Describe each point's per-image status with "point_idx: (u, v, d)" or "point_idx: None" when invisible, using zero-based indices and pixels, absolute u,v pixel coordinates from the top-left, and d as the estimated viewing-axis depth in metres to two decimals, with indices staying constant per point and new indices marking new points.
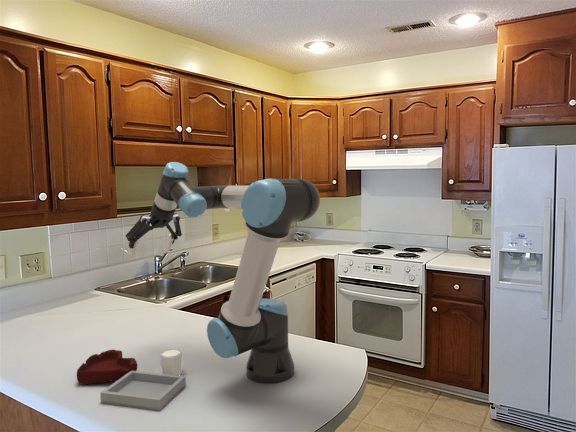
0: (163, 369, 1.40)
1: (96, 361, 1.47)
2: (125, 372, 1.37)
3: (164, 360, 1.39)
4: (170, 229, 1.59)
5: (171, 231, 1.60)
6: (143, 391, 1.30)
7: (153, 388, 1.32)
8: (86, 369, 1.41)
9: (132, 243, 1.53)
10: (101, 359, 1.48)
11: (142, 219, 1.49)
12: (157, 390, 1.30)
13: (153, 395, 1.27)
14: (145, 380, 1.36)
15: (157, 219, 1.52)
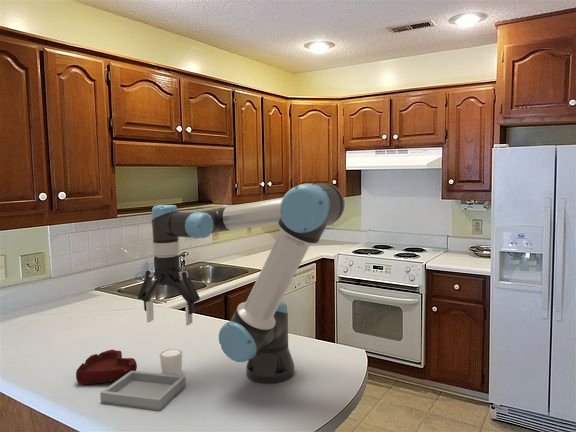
0: (163, 369, 1.40)
1: (95, 362, 1.46)
2: (124, 372, 1.37)
3: (164, 360, 1.39)
4: (179, 289, 1.37)
5: (181, 292, 1.37)
6: (143, 391, 1.30)
7: (153, 388, 1.32)
8: (85, 369, 1.41)
9: (145, 303, 1.42)
10: (100, 359, 1.48)
11: None
12: (157, 390, 1.30)
13: (153, 395, 1.27)
14: (145, 380, 1.36)
15: (160, 272, 1.39)
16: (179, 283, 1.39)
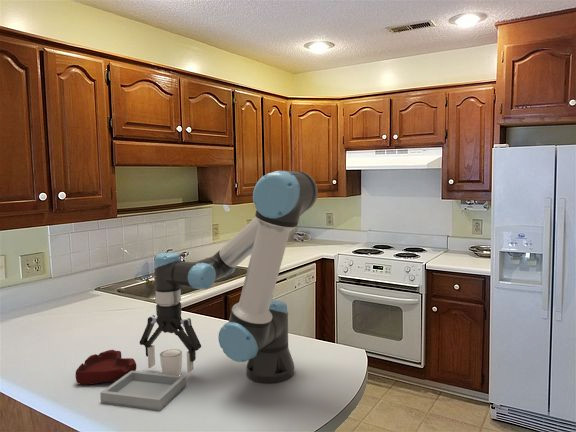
0: (163, 369, 1.40)
1: (95, 362, 1.46)
2: (124, 372, 1.37)
3: (164, 360, 1.39)
4: (180, 337, 1.39)
5: (183, 340, 1.39)
6: (143, 391, 1.30)
7: (153, 388, 1.32)
8: (85, 369, 1.41)
9: (146, 349, 1.43)
10: (100, 359, 1.48)
11: None
12: (157, 390, 1.30)
13: (153, 395, 1.27)
14: (145, 380, 1.36)
15: (162, 320, 1.40)
16: (181, 330, 1.40)
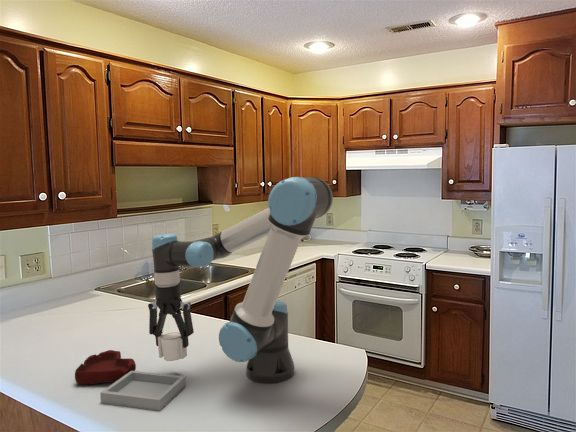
0: (164, 352, 1.39)
1: (94, 362, 1.46)
2: (123, 373, 1.37)
3: (165, 342, 1.38)
4: (177, 321, 1.38)
5: (178, 324, 1.38)
6: (143, 391, 1.30)
7: (153, 388, 1.32)
8: (84, 370, 1.41)
9: (156, 339, 1.41)
10: (99, 360, 1.48)
11: None
12: (157, 390, 1.30)
13: (153, 395, 1.27)
14: (145, 380, 1.36)
15: (161, 300, 1.39)
16: (178, 314, 1.39)
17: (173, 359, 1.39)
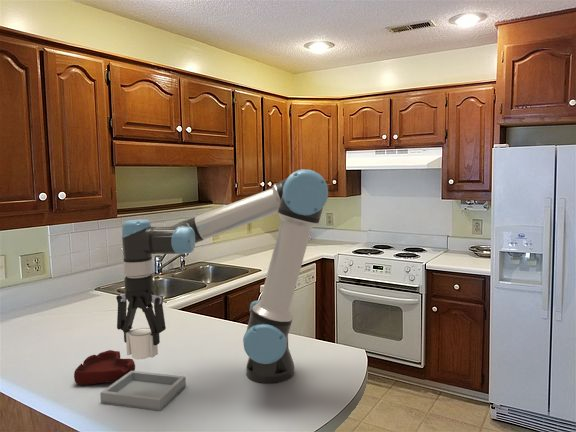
0: (132, 349, 1.26)
1: (94, 362, 1.46)
2: (123, 373, 1.37)
3: (133, 339, 1.25)
4: (147, 315, 1.25)
5: (148, 320, 1.25)
6: (143, 391, 1.30)
7: (153, 388, 1.32)
8: (84, 370, 1.41)
9: (125, 334, 1.28)
10: (99, 360, 1.48)
11: None
12: (157, 390, 1.30)
13: (153, 395, 1.27)
14: (145, 380, 1.36)
15: (130, 292, 1.26)
16: (149, 308, 1.26)
17: (142, 357, 1.26)
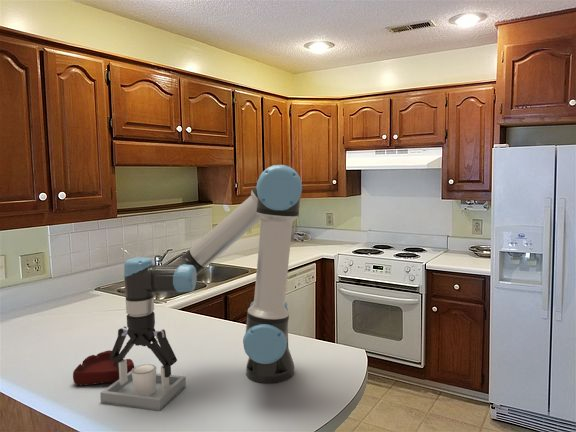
0: (135, 387, 1.27)
1: (93, 362, 1.46)
2: None
3: (136, 377, 1.26)
4: (154, 350, 1.26)
5: (156, 354, 1.26)
6: None
7: None
8: (83, 370, 1.41)
9: (117, 364, 1.30)
10: (98, 360, 1.47)
11: None
12: (157, 390, 1.30)
13: (153, 395, 1.27)
14: None
15: (133, 331, 1.27)
16: (154, 343, 1.27)
17: (144, 395, 1.27)
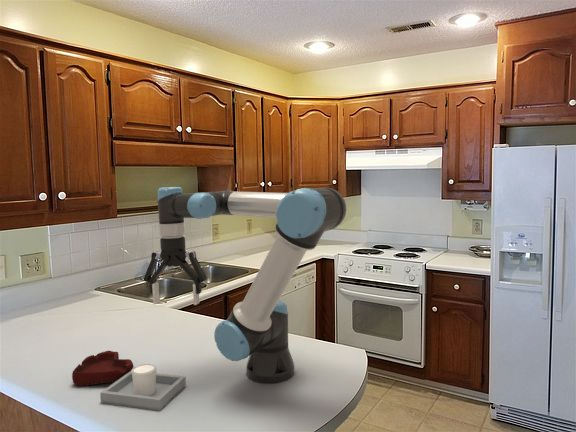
0: (135, 387, 1.27)
1: (92, 363, 1.46)
2: (121, 374, 1.36)
3: (136, 377, 1.26)
4: (186, 269, 1.39)
5: (188, 272, 1.39)
6: None
7: None
8: (82, 370, 1.41)
9: (151, 286, 1.43)
10: (97, 360, 1.47)
11: None
12: (157, 390, 1.30)
13: (153, 395, 1.27)
14: None
15: (166, 254, 1.40)
16: (186, 264, 1.41)
17: (144, 395, 1.27)
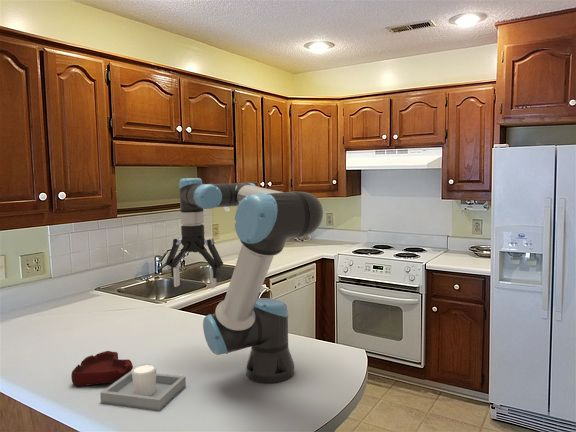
0: (135, 387, 1.27)
1: (91, 363, 1.46)
2: (120, 374, 1.36)
3: (136, 377, 1.26)
4: (204, 255, 1.49)
5: (206, 258, 1.49)
6: None
7: None
8: (81, 371, 1.40)
9: (172, 269, 1.54)
10: (97, 360, 1.47)
11: None
12: (157, 390, 1.30)
13: (153, 395, 1.27)
14: None
15: (186, 240, 1.51)
16: (204, 250, 1.51)
17: (144, 395, 1.27)
